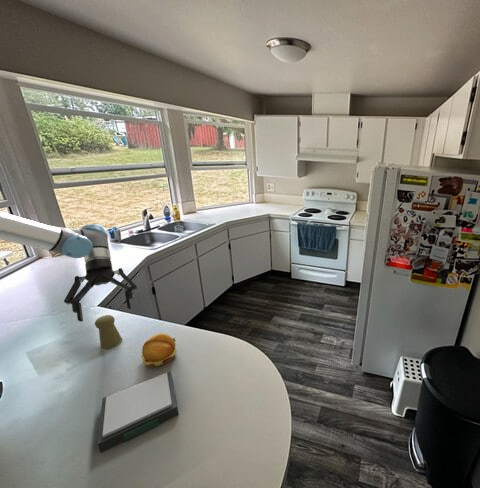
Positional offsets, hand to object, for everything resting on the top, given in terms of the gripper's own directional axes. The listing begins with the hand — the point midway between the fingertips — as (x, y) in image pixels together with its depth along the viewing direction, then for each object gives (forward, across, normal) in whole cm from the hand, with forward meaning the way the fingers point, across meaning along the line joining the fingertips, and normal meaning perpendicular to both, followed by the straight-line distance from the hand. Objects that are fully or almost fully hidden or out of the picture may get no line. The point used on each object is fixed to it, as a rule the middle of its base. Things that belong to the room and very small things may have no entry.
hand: (105, 314), depth 90 cm
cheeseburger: (+23, -14, +9) cm, 28 cm away
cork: (+10, 0, -4) cm, 11 cm away
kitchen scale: (+36, -8, +22) cm, 42 cm away
